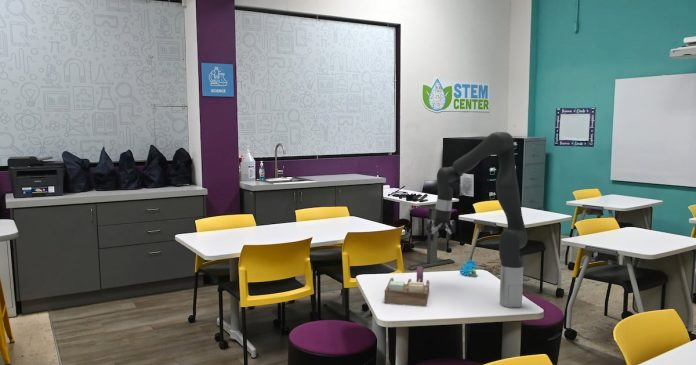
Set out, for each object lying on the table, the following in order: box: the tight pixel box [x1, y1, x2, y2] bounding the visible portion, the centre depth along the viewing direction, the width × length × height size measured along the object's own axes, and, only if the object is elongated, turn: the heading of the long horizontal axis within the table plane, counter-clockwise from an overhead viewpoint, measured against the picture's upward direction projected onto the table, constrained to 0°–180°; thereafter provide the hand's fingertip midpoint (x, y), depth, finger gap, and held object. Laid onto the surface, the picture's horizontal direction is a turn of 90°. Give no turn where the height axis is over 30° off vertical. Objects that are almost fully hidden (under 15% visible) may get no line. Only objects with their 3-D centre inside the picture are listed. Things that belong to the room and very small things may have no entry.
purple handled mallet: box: [409, 266, 425, 293], centre depth 246 cm, size 27×6×9 cm, turn 168°
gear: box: [459, 259, 478, 277], centre depth 284 cm, size 11×6×10 cm
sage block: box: [389, 280, 406, 291], centre depth 237 cm, size 6×6×5 cm
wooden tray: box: [383, 277, 430, 307], centre depth 243 cm, size 22×18×6 cm
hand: (439, 241), depth 261 cm, fingers open, 8 cm apart
